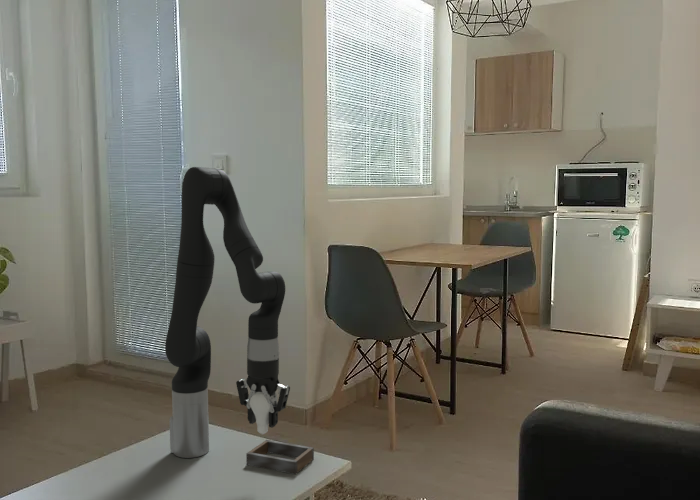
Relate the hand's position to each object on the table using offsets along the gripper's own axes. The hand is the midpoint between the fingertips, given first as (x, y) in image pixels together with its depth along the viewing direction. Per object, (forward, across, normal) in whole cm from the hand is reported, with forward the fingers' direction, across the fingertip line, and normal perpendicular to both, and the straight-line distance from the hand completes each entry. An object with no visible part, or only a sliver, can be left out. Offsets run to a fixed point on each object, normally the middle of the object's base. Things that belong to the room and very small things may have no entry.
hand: (262, 424), depth 164 cm
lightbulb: (+3, 0, 0) cm, 3 cm away
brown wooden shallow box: (+13, 0, +10) cm, 16 cm away
